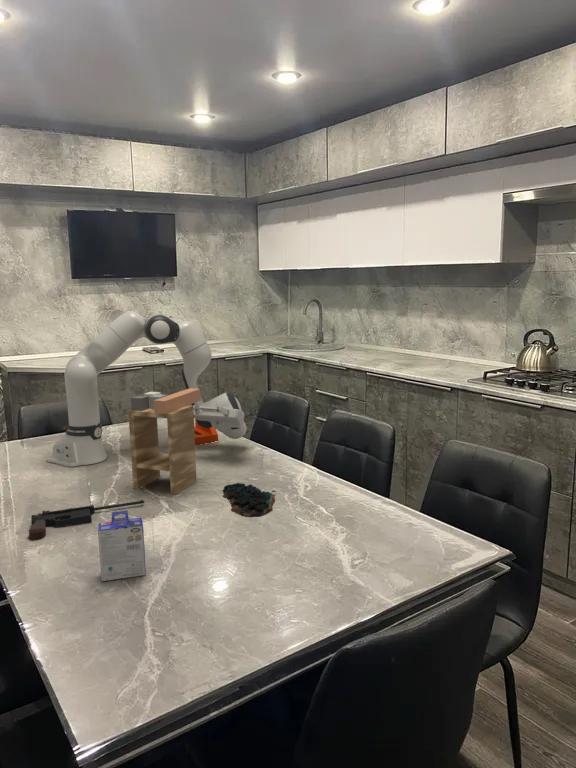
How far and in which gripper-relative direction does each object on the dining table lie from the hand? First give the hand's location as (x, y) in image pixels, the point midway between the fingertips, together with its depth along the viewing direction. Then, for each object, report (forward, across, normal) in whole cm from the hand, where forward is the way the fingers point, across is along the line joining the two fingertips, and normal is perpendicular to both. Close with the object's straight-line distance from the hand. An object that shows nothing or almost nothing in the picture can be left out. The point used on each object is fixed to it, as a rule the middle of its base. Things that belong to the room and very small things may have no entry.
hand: (206, 407), depth 211 cm
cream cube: (+19, -9, +6) cm, 22 cm away
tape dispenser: (-38, -23, +4) cm, 45 cm away
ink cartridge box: (+56, +20, +58) cm, 83 cm away
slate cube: (+22, -5, +8) cm, 24 cm away
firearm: (+36, -8, +47) cm, 60 cm away
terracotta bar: (+18, 0, +6) cm, 19 cm away
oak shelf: (+9, -4, +30) cm, 32 cm away
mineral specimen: (+10, +29, +32) cm, 44 cm away
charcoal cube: (+25, -10, +9) cm, 28 cm away
